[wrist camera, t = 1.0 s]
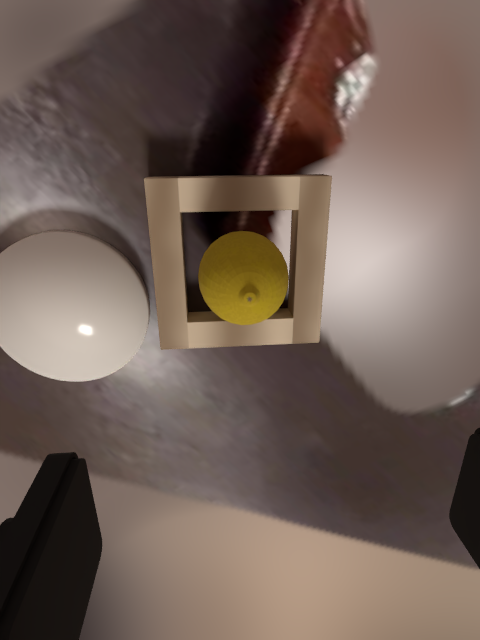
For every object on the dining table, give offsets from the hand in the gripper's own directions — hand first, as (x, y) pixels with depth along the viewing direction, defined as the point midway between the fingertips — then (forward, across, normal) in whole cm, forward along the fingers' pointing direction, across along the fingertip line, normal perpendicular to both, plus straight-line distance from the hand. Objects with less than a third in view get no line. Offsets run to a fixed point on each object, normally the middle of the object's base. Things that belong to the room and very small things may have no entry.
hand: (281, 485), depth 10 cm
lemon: (+21, 0, 0) cm, 21 cm away
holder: (+20, 0, 0) cm, 20 cm away
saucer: (+20, +12, +3) cm, 24 cm away
